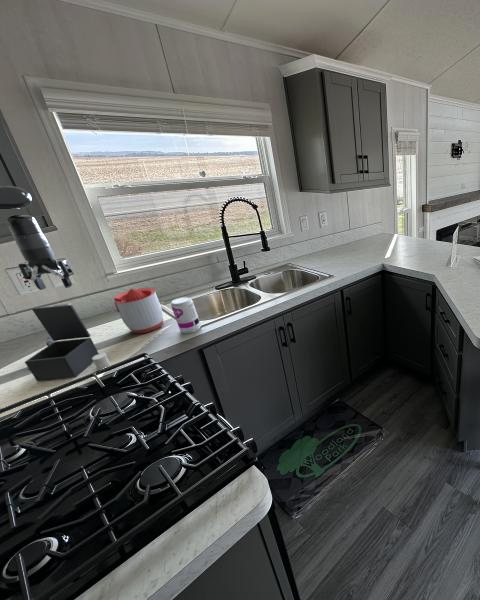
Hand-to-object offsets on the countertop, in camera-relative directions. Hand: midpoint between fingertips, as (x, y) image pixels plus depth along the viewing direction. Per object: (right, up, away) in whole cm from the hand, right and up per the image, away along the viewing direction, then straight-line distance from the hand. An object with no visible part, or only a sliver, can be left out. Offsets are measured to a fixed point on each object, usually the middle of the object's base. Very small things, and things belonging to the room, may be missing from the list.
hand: (56, 288), depth 122 cm
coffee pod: (+15, -30, +3) cm, 34 cm away
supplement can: (+33, -18, +28) cm, 47 cm away
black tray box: (+2, -31, +3) cm, 31 cm away
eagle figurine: (-10, -25, +10) cm, 29 cm away
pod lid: (+1, -14, +1) cm, 14 cm away
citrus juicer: (+10, -18, +30) cm, 36 cm away
